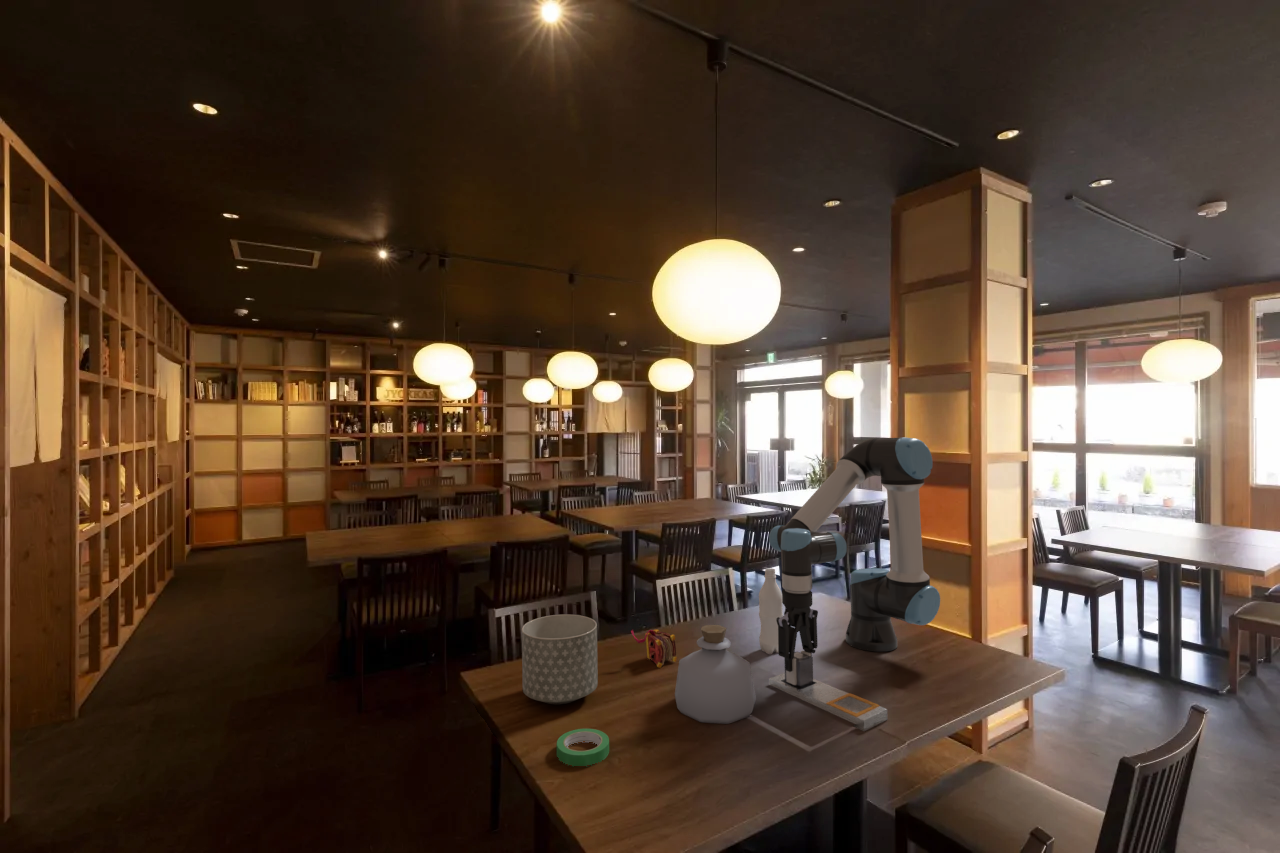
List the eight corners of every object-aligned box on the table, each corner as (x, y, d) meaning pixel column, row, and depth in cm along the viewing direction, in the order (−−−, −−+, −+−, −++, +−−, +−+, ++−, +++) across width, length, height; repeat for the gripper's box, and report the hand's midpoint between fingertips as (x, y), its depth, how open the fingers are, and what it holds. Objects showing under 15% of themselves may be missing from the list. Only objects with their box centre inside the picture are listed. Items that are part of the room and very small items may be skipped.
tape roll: (572, 736, 130) (572, 723, 130) (617, 745, 126) (617, 732, 126) (546, 762, 120) (546, 749, 120) (594, 773, 116) (594, 759, 116)
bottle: (660, 696, 148) (659, 622, 148) (727, 683, 155) (726, 612, 156) (696, 733, 130) (695, 648, 130) (771, 716, 137) (769, 636, 137)
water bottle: (784, 656, 173) (782, 572, 173) (759, 655, 175) (758, 571, 175) (783, 648, 180) (781, 567, 180) (759, 646, 182) (758, 566, 182)
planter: (567, 675, 162) (566, 610, 162) (613, 696, 149) (612, 625, 149) (508, 697, 149) (507, 626, 149) (552, 723, 135) (551, 644, 136)
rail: (792, 679, 157) (792, 669, 157) (887, 719, 134) (887, 708, 134) (769, 687, 152) (769, 677, 152) (864, 731, 129) (863, 719, 129)
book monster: (679, 663, 169) (642, 673, 164) (664, 653, 177) (628, 663, 172) (676, 626, 169) (639, 636, 164) (661, 619, 177) (626, 627, 172)
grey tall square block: (797, 681, 153) (797, 650, 154) (813, 688, 149) (812, 655, 149) (785, 686, 151) (784, 654, 151) (800, 693, 146) (799, 660, 147)
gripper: (808, 581, 159) (810, 667, 158) (761, 592, 148) (763, 684, 148) (831, 586, 152) (833, 676, 152) (784, 599, 142) (786, 694, 142)
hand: (798, 680), depth 150 cm, fingers closed on grey tall square block, 5 cm apart
